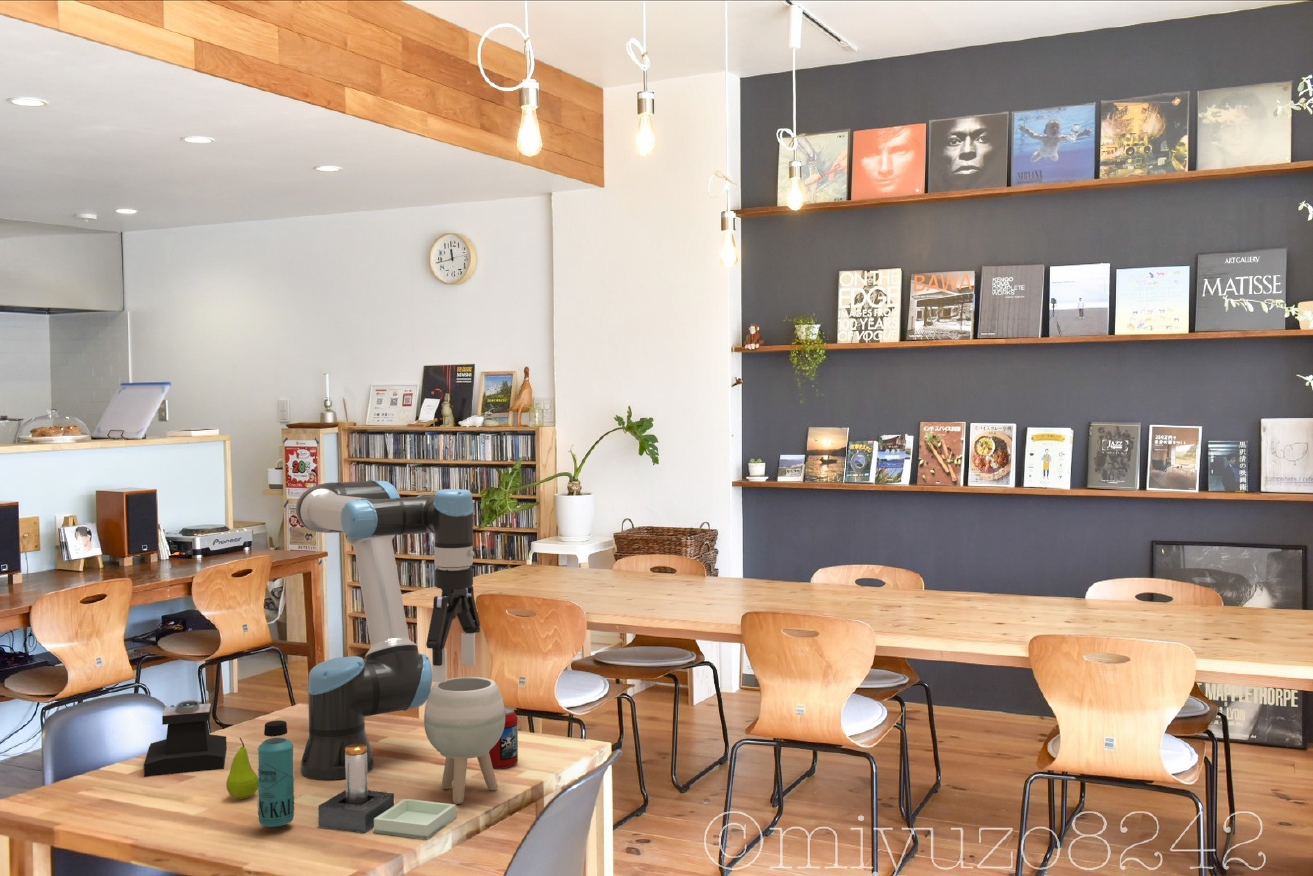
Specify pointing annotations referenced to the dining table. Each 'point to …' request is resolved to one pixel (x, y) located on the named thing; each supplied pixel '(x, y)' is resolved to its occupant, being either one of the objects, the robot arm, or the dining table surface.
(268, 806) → the beverage bottle
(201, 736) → the black pedestal stand
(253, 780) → the fruit
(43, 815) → the dining table surface
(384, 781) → the dining table surface
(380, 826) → the tray
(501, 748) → the beverage can
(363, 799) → the pin
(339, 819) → the collar
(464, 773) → the planter
